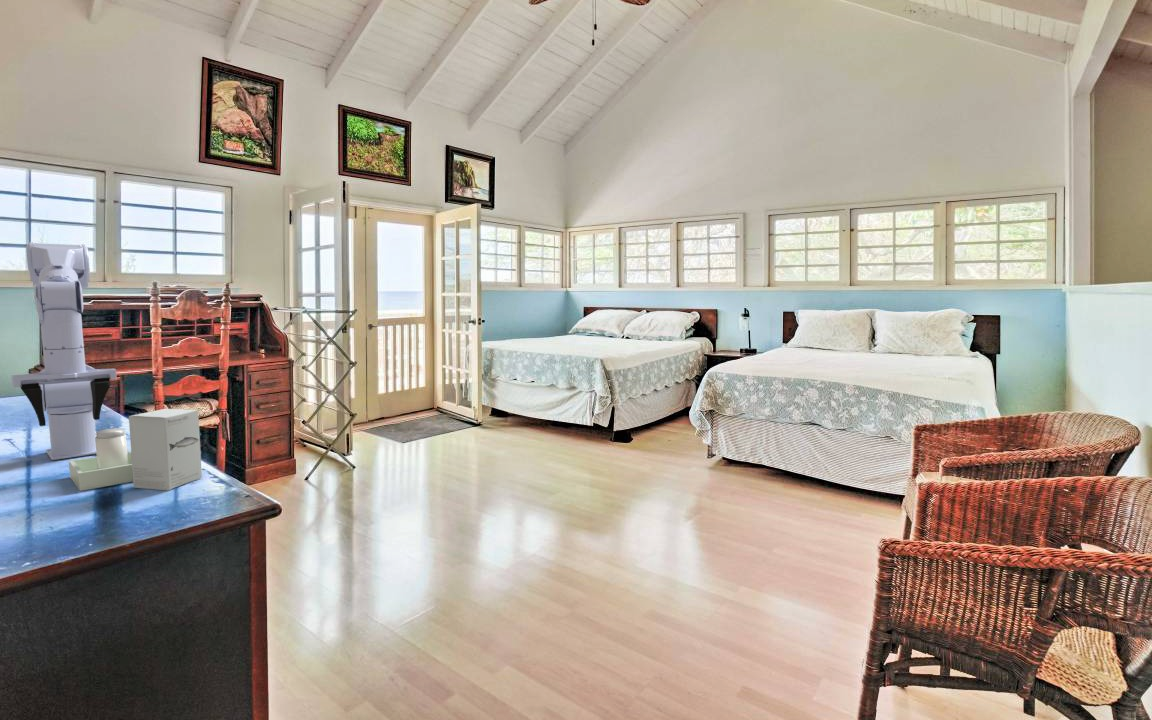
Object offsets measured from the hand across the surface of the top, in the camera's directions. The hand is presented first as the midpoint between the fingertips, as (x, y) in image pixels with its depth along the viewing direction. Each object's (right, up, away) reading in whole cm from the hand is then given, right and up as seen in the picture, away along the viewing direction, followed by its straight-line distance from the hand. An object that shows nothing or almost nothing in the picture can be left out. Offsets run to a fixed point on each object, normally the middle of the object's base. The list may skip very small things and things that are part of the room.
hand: (70, 422), depth 112 cm
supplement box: (+22, -10, -5) cm, 25 cm away
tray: (+10, -10, -2) cm, 14 cm away
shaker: (+10, -9, -2) cm, 13 cm away
